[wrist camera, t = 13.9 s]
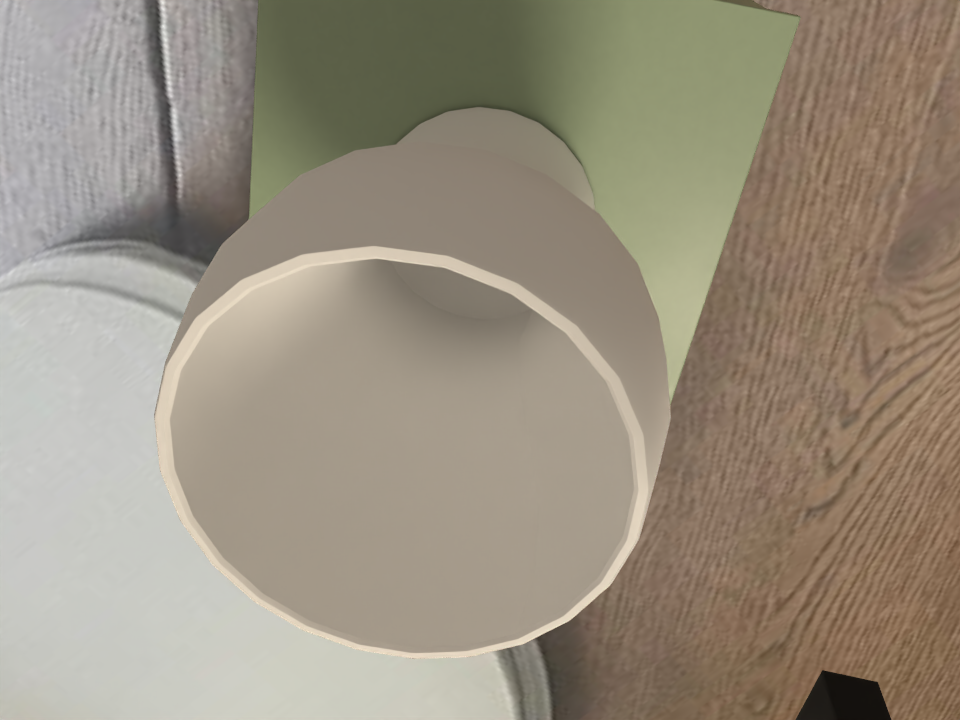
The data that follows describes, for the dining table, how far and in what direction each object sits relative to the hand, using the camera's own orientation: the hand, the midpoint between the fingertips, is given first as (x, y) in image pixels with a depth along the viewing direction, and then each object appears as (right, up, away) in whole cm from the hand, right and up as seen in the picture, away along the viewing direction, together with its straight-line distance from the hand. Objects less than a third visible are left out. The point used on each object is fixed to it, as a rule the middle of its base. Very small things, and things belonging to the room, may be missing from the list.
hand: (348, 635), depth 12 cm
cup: (+2, +9, +17) cm, 19 cm away
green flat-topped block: (+3, +13, +24) cm, 27 cm away
